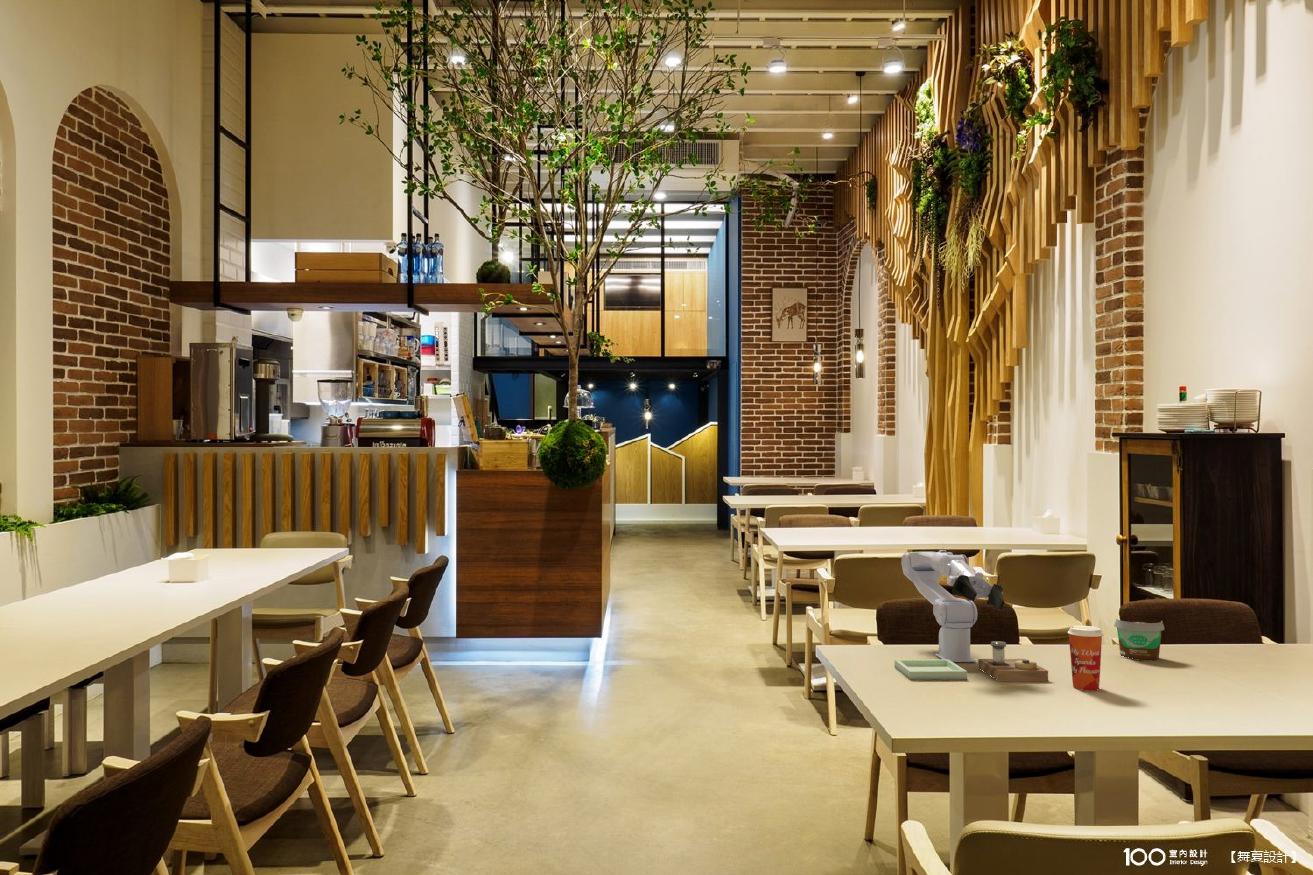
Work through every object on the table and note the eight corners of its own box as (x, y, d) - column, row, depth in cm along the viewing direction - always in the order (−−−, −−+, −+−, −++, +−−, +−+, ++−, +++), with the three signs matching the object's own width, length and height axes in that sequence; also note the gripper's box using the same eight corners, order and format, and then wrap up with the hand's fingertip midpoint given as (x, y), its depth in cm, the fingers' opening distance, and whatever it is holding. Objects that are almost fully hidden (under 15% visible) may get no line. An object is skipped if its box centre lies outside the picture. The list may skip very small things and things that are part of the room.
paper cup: (1066, 689, 224) (1066, 629, 225) (1069, 682, 231) (1069, 624, 231) (1103, 693, 221) (1103, 631, 221) (1105, 686, 228) (1104, 626, 228)
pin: (988, 672, 242) (988, 641, 243) (1003, 672, 242) (1002, 641, 243) (994, 675, 239) (993, 643, 239) (1008, 675, 239) (1008, 643, 239)
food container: (1118, 659, 257) (1117, 622, 258) (1114, 655, 263) (1113, 618, 264) (1169, 662, 254) (1168, 624, 254) (1164, 658, 260) (1164, 620, 260)
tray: (894, 667, 248) (894, 659, 248) (948, 667, 248) (948, 659, 248) (909, 679, 234) (909, 671, 234) (967, 679, 234) (967, 671, 234)
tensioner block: (978, 668, 247) (978, 651, 247) (1024, 668, 247) (1024, 651, 247) (998, 681, 233) (998, 663, 233) (1048, 681, 233) (1047, 663, 233)
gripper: (947, 558, 249) (968, 579, 236) (997, 572, 251) (1020, 594, 238) (937, 582, 250) (957, 604, 237) (986, 596, 253) (1009, 619, 239)
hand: (988, 601), depth 238 cm, fingers open, 7 cm apart
